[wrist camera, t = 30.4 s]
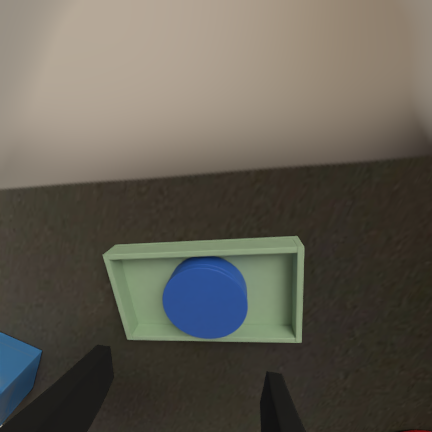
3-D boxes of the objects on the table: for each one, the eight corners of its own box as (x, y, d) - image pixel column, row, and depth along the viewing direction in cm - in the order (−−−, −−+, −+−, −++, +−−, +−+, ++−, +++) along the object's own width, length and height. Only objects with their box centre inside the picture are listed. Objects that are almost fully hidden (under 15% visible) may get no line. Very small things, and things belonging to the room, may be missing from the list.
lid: (261, 273, 14) (263, 289, 13) (230, 330, 16) (228, 350, 15) (183, 242, 14) (176, 254, 13) (161, 303, 16) (152, 320, 14)
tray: (137, 323, 18) (127, 340, 16) (115, 244, 15) (102, 254, 14) (295, 324, 16) (301, 343, 14) (297, 235, 14) (304, 246, 12)
